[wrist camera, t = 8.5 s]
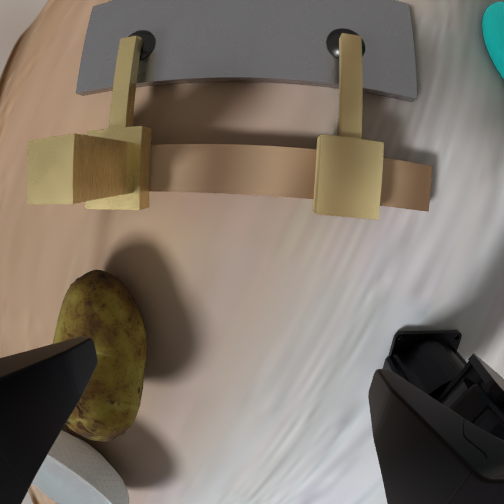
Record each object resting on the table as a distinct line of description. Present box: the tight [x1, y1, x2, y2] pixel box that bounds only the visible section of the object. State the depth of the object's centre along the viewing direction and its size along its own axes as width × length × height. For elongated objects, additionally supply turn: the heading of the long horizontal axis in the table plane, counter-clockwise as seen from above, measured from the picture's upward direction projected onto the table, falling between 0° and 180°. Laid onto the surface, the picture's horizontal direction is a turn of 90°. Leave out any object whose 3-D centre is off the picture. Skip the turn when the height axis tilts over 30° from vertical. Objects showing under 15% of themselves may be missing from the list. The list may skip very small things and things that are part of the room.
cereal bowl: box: [32, 430, 129, 504], centre depth 26 cm, size 17×17×7 cm
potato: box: [53, 270, 148, 442], centre depth 20 cm, size 8×13×8 cm, turn 154°
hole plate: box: [76, 0, 417, 102], centre depth 17 cm, size 24×8×1 cm, turn 87°
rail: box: [149, 33, 432, 220], centre depth 17 cm, size 26×12×3 cm, turn 87°
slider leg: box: [27, 36, 152, 210], centre depth 14 cm, size 4×12×8 cm, turn 177°
